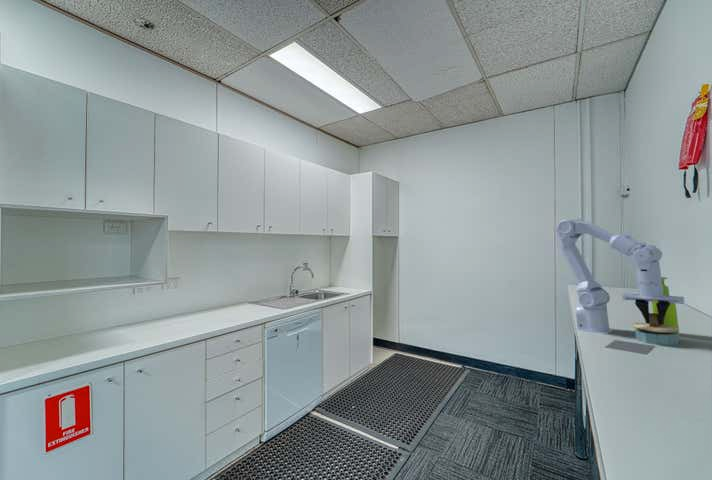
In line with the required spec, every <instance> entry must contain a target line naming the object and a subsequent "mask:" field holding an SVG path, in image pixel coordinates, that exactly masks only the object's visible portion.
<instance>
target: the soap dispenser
mask: <svg viewBox="0 0 712 480" xmlns="http://www.w3.org/2000/svg"><path fill="white" fill-rule="evenodd" d="M661 279H662V287H663V295H668V296H670V290H669V286H667V285H666V284H665V280H667V279H668V277H665V276H661ZM656 303H658V302H653V301H651V305H652V306H651V307H652V313H656V314H658V310H657V306H656ZM676 305H677V303H670V305H669V307H668V309H667V311H666V314H665V318H664V324H665V325H671V326H675V327H677V328H678V331H677V332H678V337H679V336H680V329H679V320H678V314H677V306H676Z"/></svg>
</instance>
